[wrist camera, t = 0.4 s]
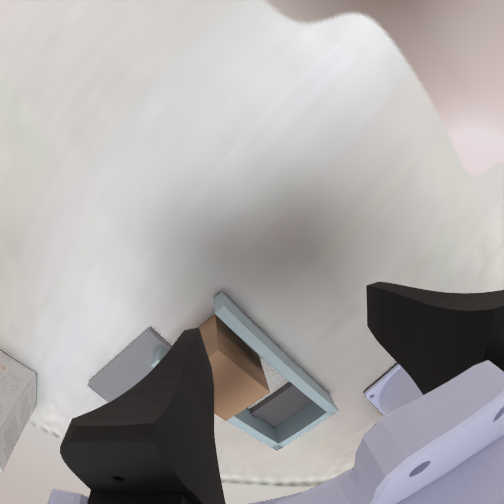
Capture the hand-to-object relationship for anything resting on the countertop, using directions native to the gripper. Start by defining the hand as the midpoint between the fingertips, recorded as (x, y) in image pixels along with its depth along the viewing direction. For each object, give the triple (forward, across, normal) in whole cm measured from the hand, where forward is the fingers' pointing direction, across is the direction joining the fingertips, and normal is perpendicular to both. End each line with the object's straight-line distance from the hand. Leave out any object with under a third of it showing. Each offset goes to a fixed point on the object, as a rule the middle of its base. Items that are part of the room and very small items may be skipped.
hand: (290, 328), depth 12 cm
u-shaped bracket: (+10, +2, +10) cm, 14 cm away
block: (+10, +4, +6) cm, 12 cm away
